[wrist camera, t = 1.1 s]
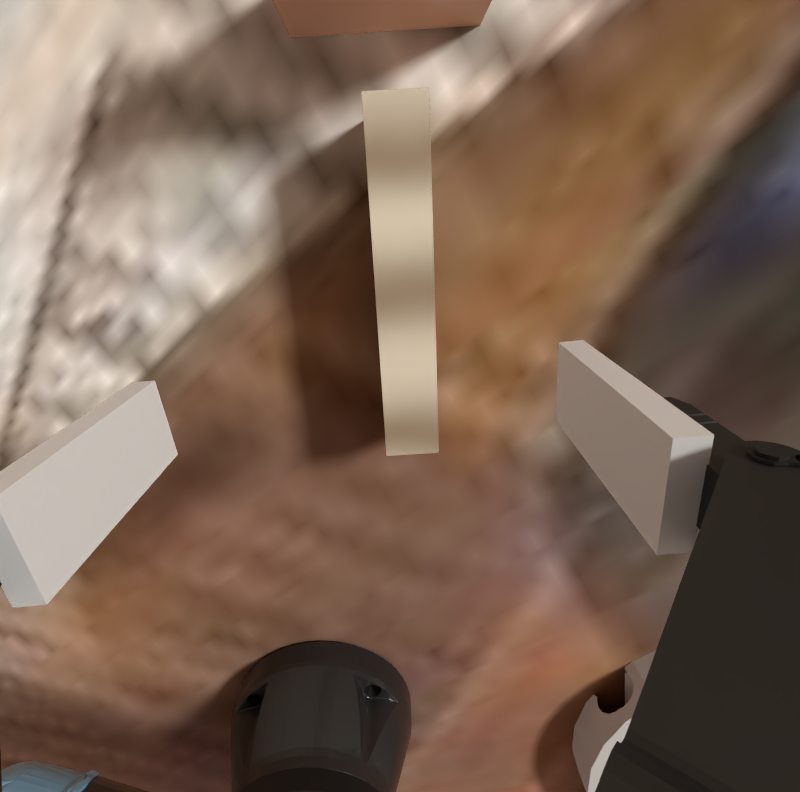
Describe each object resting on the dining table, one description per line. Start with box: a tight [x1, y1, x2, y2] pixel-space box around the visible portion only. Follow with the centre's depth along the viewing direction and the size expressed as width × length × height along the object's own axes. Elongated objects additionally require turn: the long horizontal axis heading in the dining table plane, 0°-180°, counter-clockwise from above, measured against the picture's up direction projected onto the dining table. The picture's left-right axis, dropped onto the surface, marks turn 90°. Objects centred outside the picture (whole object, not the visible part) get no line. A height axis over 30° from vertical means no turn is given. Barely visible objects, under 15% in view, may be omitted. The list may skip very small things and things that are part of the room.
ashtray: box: [572, 651, 656, 792], centre depth 43 cm, size 23×23×4 cm
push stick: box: [361, 88, 439, 456], centre depth 27 cm, size 18×3×6 cm, turn 3°
